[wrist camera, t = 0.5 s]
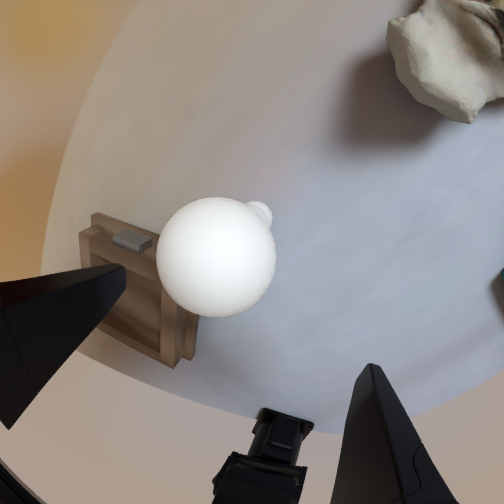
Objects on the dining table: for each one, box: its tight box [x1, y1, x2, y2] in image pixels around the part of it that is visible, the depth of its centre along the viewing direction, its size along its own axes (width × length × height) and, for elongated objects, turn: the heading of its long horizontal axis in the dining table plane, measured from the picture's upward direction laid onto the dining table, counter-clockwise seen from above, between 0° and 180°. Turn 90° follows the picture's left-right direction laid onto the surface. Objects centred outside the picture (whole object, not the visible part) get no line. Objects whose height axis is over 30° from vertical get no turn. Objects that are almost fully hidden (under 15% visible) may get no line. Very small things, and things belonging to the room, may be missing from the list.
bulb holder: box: [79, 212, 199, 369], centre depth 27 cm, size 13×13×4 cm
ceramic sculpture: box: [386, 0, 504, 124], centre depth 9 cm, size 11×9×15 cm
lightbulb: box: [156, 197, 276, 318], centre depth 17 cm, size 6×6×11 cm
